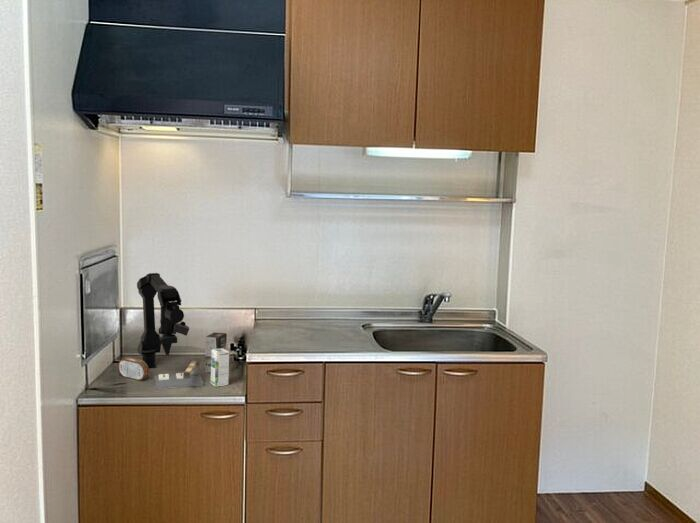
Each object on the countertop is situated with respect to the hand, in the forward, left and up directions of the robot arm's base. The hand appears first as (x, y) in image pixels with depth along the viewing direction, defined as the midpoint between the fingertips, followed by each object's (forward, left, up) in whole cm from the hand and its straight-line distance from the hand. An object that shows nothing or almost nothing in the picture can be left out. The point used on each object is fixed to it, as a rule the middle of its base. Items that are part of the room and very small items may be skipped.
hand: (167, 354), depth 232 cm
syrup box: (+10, +20, -11) cm, 25 cm away
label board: (+4, +4, -11) cm, 12 cm away
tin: (-6, -13, -11) cm, 18 cm away
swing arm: (+7, +9, -5) cm, 12 cm away
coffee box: (-10, +21, -11) cm, 26 cm away
